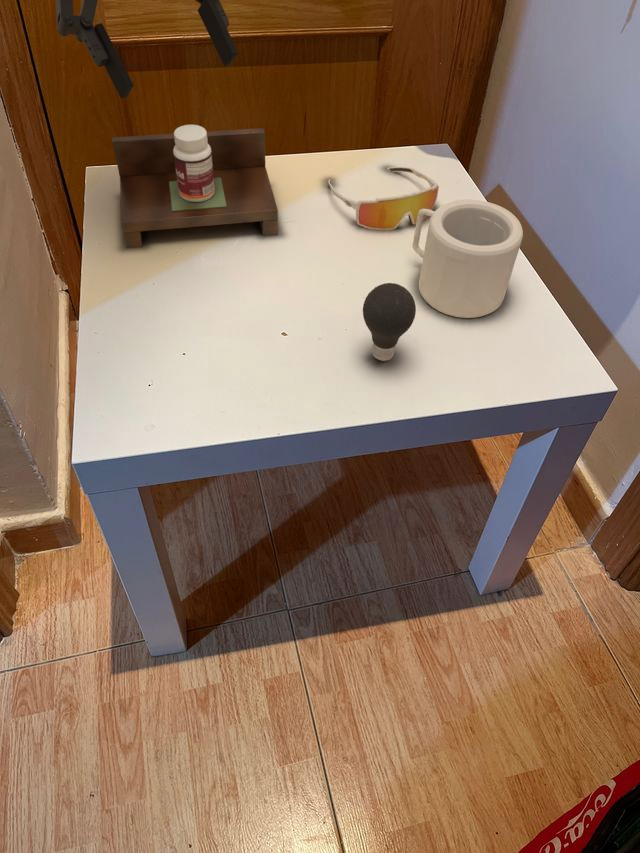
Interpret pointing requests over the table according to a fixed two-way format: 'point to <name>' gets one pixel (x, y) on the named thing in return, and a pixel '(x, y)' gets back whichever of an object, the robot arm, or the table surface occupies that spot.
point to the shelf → (159, 196)
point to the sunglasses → (393, 205)
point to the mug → (467, 256)
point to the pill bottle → (193, 163)
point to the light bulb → (388, 317)
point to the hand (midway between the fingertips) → (181, 75)
